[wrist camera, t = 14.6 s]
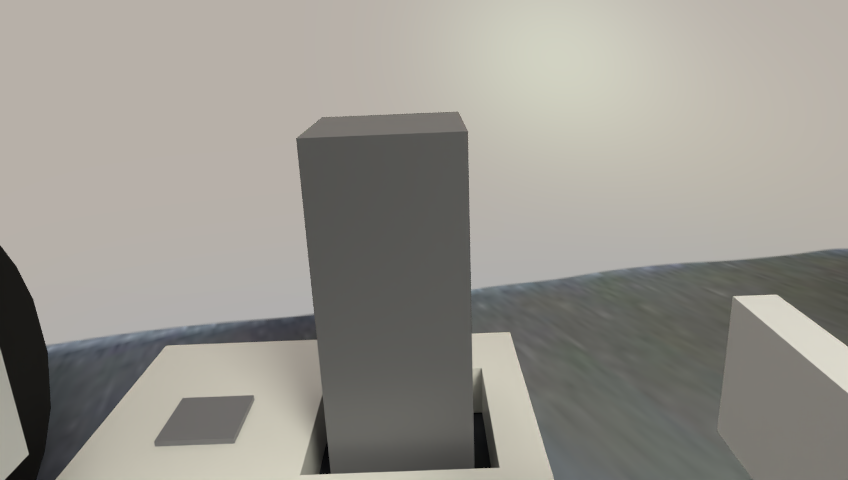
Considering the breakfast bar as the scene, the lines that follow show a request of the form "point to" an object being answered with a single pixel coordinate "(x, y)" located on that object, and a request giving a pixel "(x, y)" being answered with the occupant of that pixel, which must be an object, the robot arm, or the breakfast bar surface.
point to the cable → (24, 365)
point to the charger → (391, 288)
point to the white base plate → (282, 418)
